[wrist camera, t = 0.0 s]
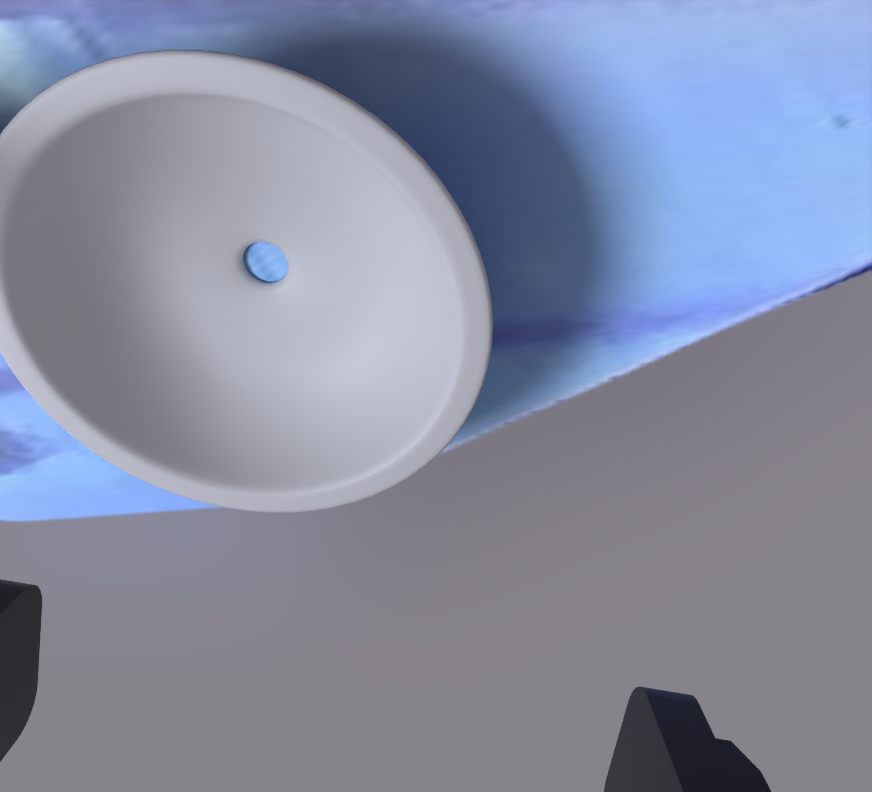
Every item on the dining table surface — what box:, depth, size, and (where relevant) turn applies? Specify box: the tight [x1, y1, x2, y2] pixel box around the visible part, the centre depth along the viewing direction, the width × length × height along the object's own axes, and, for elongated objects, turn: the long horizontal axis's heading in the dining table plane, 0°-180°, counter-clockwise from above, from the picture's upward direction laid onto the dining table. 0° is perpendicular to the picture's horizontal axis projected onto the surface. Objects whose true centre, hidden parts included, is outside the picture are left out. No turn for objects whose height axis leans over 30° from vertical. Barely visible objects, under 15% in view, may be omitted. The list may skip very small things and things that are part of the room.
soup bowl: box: [0, 50, 493, 513], centre depth 40 cm, size 24×24×7 cm
